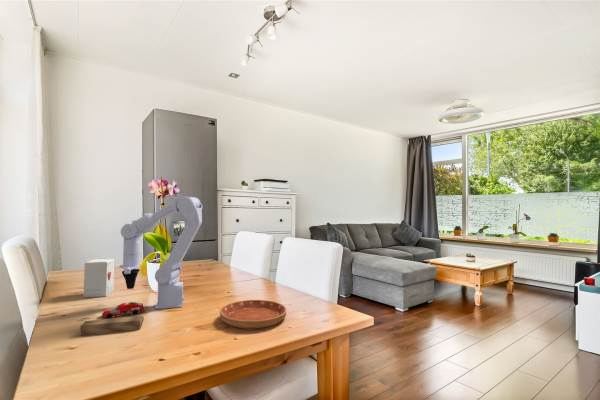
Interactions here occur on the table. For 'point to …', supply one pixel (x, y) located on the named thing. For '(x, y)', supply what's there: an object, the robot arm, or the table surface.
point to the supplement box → (98, 278)
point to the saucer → (253, 313)
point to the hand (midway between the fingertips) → (130, 288)
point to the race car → (124, 310)
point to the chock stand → (111, 325)
